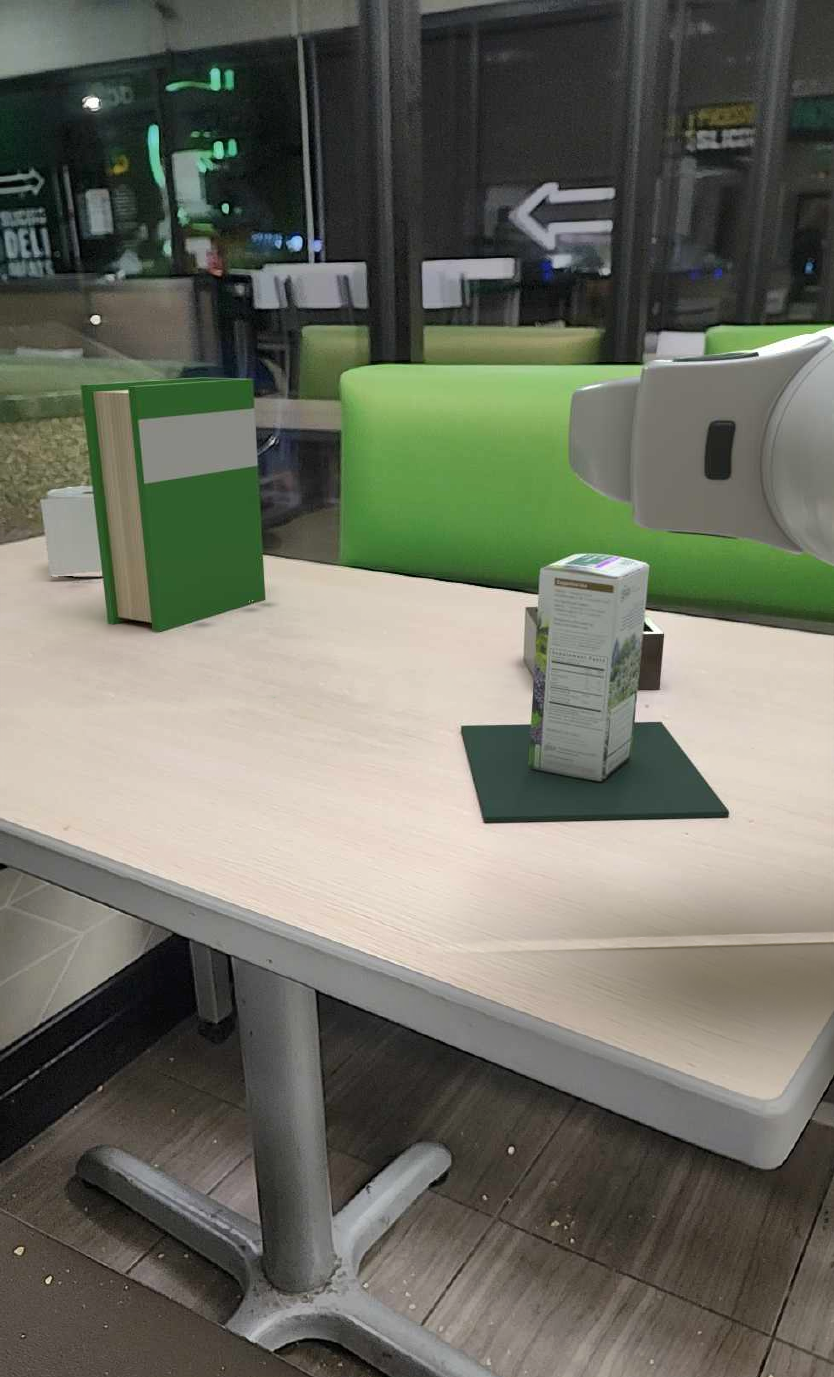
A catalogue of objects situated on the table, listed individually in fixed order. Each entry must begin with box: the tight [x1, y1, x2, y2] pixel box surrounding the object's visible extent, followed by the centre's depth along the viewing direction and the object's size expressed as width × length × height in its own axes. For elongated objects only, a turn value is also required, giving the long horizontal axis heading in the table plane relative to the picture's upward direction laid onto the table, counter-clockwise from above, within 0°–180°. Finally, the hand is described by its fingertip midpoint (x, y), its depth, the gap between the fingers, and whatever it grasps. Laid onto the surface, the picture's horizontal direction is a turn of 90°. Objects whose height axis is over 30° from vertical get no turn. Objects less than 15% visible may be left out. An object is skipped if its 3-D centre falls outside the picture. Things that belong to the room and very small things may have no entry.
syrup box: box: [529, 553, 650, 782], centre depth 78 cm, size 6×6×14 cm
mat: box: [460, 721, 730, 823], centre depth 81 cm, size 16×18×1 cm
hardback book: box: [80, 376, 266, 633], centre depth 122 cm, size 18×7×24 cm, turn 148°
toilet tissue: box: [39, 485, 103, 578], centre depth 145 cm, size 11×12×10 cm
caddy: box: [523, 606, 665, 691], centre depth 102 cm, size 11×11×5 cm
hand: (747, 416), depth 57 cm, fingers open, 8 cm apart
